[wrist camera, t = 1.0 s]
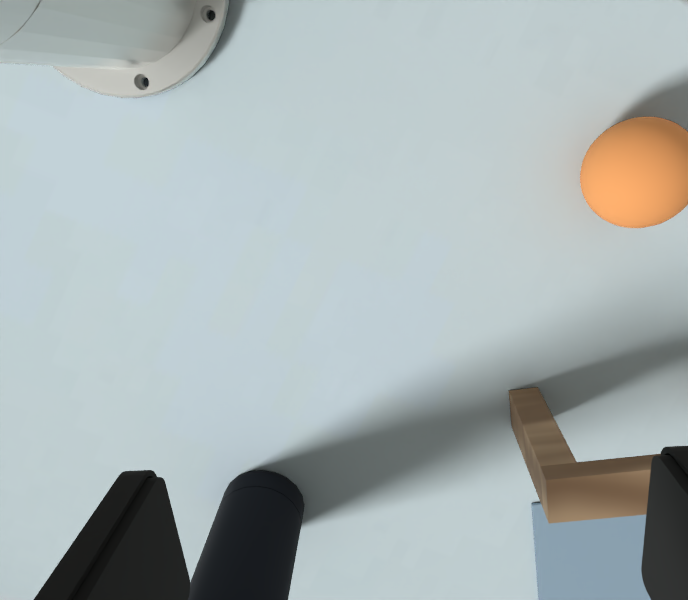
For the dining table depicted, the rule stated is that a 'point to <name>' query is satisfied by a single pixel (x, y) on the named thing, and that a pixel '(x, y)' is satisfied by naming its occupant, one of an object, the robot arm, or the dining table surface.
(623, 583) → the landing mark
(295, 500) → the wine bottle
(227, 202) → the dining table surface
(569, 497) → the bridge
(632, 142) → the ball
